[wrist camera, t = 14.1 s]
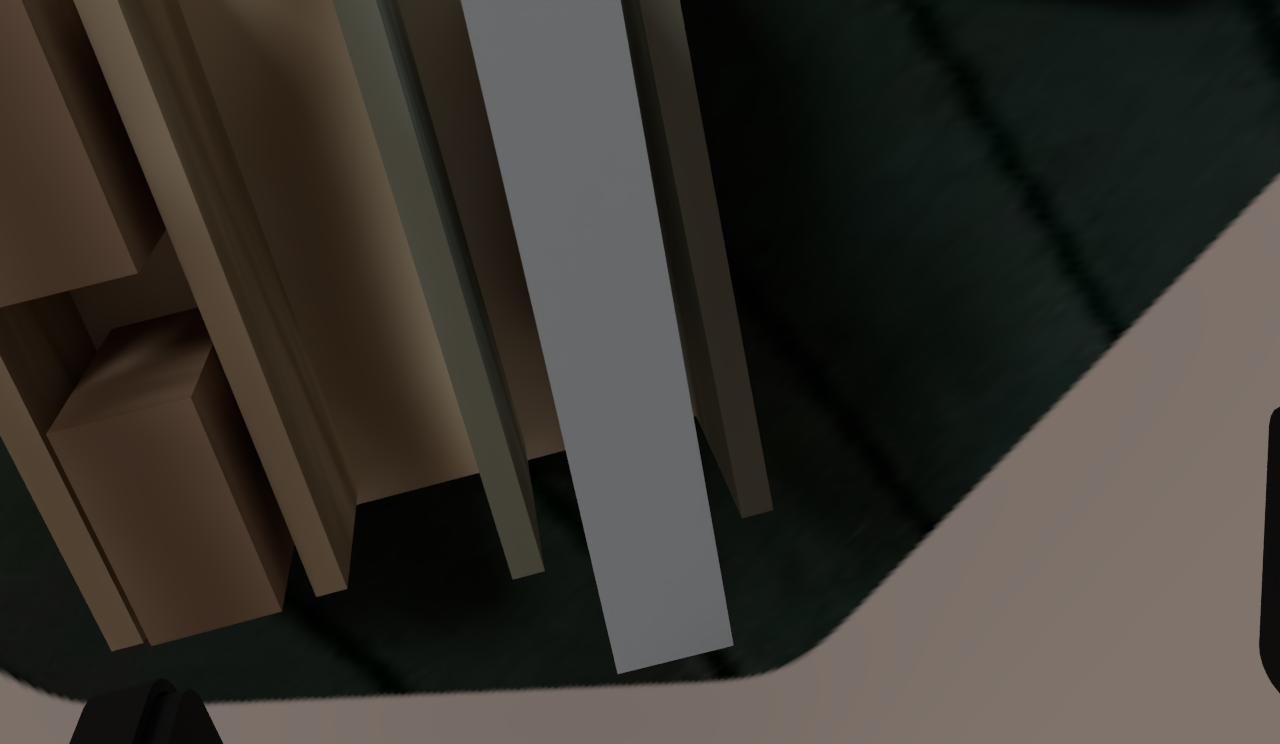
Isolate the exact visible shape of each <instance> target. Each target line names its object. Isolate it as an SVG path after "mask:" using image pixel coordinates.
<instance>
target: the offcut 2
mask: <svg viewBox="0 0 1280 744" xmlns="http://www.w3.org/2000/svg"><path fill="white" fill-rule="evenodd" d="M46 435H47V437H48V439H49V441H50V443H51V445H52V447H53V449H54V451H55V453H56V455H57V457H58V459H59V461H60V463H61V465H62V467H63V469H64V471H65V473H66V475H67V477H68V479H69V481H70V483H71V485H72V487H73V489H74V491H75V493H76V495H77V497H78V499H79V501H80V503H81V505H82V507H83V509H84V511H85V513H86V515H87V518H88V520H89V522H90V524H91V526H92V528H93V530H94V532H95V534H96V536H97V538H98V540H99V542H100V544H101V546H102V548H103V550H104V552H105V554H106V556H107V558H108V560H109V562H110V564H111V566H112V568H113V570H114V572H115V574H116V576H117V578H118V580H119V582H120V584H121V586H122V588H123V590H124V592H125V594H126V596H127V598H128V600H129V602H130V604H131V606H132V608H133V610H134V612H135V614H136V616H137V618H138V620H139V622H140V624H141V626H142V628H143V630H144V632H145V634H146V636H147V638H148V640H149V642H150V644H151V646H153V645H157V644H161V643H165V642H168V641H172V640H176V639H180V638H183V637H187V636H191V635H195V634H198V633H202V632H206V631H210V630H213V629H217V628H221V627H225V626H228V625H232V624H236V623H240V622H244V621H247V620H251V619H255V618H259V617H262V616H266V615H270V614H274V613H277V612H281V611H282V608H283V602H284V597H285V592H286V586H287V581H288V575H289V570H290V565H291V559H292V554H293V548H294V541H293V539H292V536H291V534H290V531H289V529H288V526H287V524H286V521H285V519H284V517H283V514H282V512H281V509H280V507H279V504H278V502H277V499H276V497H275V494H274V492H273V490H272V487H271V485H270V482H269V480H268V477H267V475H266V472H265V470H264V467H263V465H262V462H261V460H260V458H259V455H258V453H257V450H256V448H255V445H254V443H253V440H252V438H251V435H250V433H249V431H248V428H247V426H246V423H245V421H244V418H243V416H242V413H241V411H240V408H239V406H238V404H237V401H236V399H235V396H234V394H233V391H232V389H231V386H230V384H229V381H228V379H227V376H226V374H225V372H224V369H223V367H222V364H221V362H220V359H219V357H218V354H217V352H216V349H215V347H214V345H213V342H212V340H211V337H210V335H209V332H208V330H207V327H206V325H205V322H204V320H203V317H202V315H201V313H200V310H199V308H198V307H197V308H193V309H189V310H185V311H181V312H177V313H173V314H169V315H165V316H161V317H157V318H153V319H149V320H145V321H141V322H137V323H133V324H129V325H125V326H121V327H117V328H113V329H111V331H110V333H109V334H108V336H107V337H106V339H105V341H104V342H103V344H102V345H101V347H100V349H99V350H98V352H97V353H96V355H95V357H94V358H93V360H92V362H91V363H90V365H89V366H88V368H87V370H86V371H85V373H84V374H83V376H82V378H81V379H80V381H79V382H78V384H77V386H76V387H75V389H74V390H73V392H72V394H71V395H70V397H69V398H68V400H67V402H66V403H65V405H64V406H63V408H62V410H61V411H60V413H59V414H58V416H57V418H56V419H55V421H54V423H53V424H52V426H51V427H50V429H49V431H48V432H47V434H46Z"/></svg>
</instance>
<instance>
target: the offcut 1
mask: <svg viewBox="0 0 1280 744" xmlns="http://www.w3.org/2000/svg"><path fill="white" fill-rule="evenodd" d="M165 230H166V227H165V224H164V222H163V219H162V217H161V214H160V212H159V209H158V207H157V204H156V202H155V200H154V197H153V195H152V192H151V190H150V187H149V185H148V182H147V180H146V177H145V175H144V173H143V170H142V168H141V165H140V163H139V160H138V158H137V155H136V153H135V150H134V148H133V145H132V143H131V141H130V138H129V136H128V133H127V131H126V128H125V126H124V123H123V121H122V118H121V116H120V114H119V111H118V109H117V106H116V104H115V101H114V99H113V96H112V94H111V91H110V89H109V87H108V84H107V82H106V79H105V77H104V74H103V72H102V69H101V67H100V64H99V62H98V59H97V57H96V55H95V52H94V50H93V47H92V45H91V42H90V40H89V37H88V35H87V32H86V30H85V28H84V25H83V23H82V20H81V18H80V15H79V13H78V10H77V8H76V5H75V3H74V1H73V0H0V307H4V306H8V305H12V304H16V303H20V302H24V301H28V300H33V299H37V298H41V297H45V296H49V295H53V294H57V293H61V292H65V291H69V290H73V289H77V288H81V287H85V286H89V285H93V284H97V283H101V282H105V281H109V280H113V279H117V278H121V277H125V276H129V275H133V274H137V273H138V272H139V271H140V269H141V268H142V266H143V265H144V263H145V261H146V260H147V258H148V257H149V255H150V254H151V252H152V251H153V249H154V247H155V246H156V244H157V243H158V241H159V240H160V238H161V237H162V235H163V233H164V232H165Z"/></svg>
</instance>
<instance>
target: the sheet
mask: <svg viewBox="0 0 1280 744" xmlns="http://www.w3.org/2000/svg"><path fill="white" fill-rule="evenodd" d="M461 3H462V7H463V12H464V16H465V20H466V25H467V29H468V33H469V37H470V42H471V46H472V50H473V55H474V59H475V63H476V67H477V72H478V76H479V80H480V85H481V89H482V93H483V98H484V102H485V106H486V110H487V115H488V119H489V123H490V128H491V132H492V136H493V140H494V145H495V149H496V153H497V158H498V162H499V166H500V171H501V175H502V179H503V183H504V188H505V192H506V196H507V201H508V205H509V209H510V213H511V218H512V222H513V226H514V231H515V235H516V239H517V243H518V248H519V252H520V256H521V261H522V265H523V269H524V274H525V278H526V282H527V286H528V291H529V295H530V299H531V304H532V308H533V312H534V316H535V321H536V325H537V329H538V334H539V338H540V342H541V347H542V351H543V355H544V359H545V364H546V368H547V372H548V377H549V381H550V385H551V389H552V394H553V398H554V402H555V407H556V411H557V415H558V419H559V424H560V428H561V432H562V437H563V441H564V445H565V450H566V454H567V458H568V462H569V467H570V471H571V475H572V480H573V484H574V488H575V492H576V497H577V501H578V505H579V510H580V514H581V518H582V523H583V527H584V531H585V535H586V540H587V544H588V548H589V553H590V557H591V561H592V565H593V570H594V574H595V578H596V583H597V587H598V591H599V595H600V600H601V604H602V608H603V613H604V617H605V621H606V626H607V630H608V634H609V638H610V643H611V647H612V651H613V656H614V660H615V664H616V668H617V673H618V674H620V673H624V672H628V671H632V670H636V669H640V668H644V667H648V666H652V665H656V664H660V663H664V662H668V661H672V660H676V659H680V658H684V657H688V656H692V655H697V654H701V653H705V652H709V651H713V650H717V649H721V648H725V647H729V646H733V640H732V635H731V629H730V623H729V618H728V612H727V606H726V600H725V595H724V589H723V583H722V578H721V572H720V566H719V560H718V555H717V549H716V543H715V537H714V532H713V526H712V520H711V515H710V509H709V503H708V497H707V492H706V486H705V480H704V475H703V469H702V463H701V457H700V452H699V446H698V440H697V434H696V429H695V423H694V417H693V412H692V406H691V400H690V394H689V389H688V383H687V377H686V371H685V366H684V360H683V354H682V349H681V343H680V337H679V331H678V326H677V320H676V314H675V309H674V303H673V297H672V291H671V286H670V280H669V274H668V268H667V263H666V257H665V251H664V246H663V240H662V234H661V228H660V223H659V217H658V211H657V206H656V200H655V194H654V188H653V183H652V177H651V171H650V165H649V160H648V154H647V148H646V143H645V137H644V131H643V125H642V120H641V114H640V108H639V103H638V97H637V91H636V85H635V80H634V74H633V68H632V62H631V57H630V51H629V45H628V40H627V34H626V28H625V22H624V17H623V11H622V5H621V0H461Z"/></svg>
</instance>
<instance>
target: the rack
mask: <svg viewBox="0 0 1280 744" xmlns="http://www.w3.org/2000/svg"><path fill="white" fill-rule="evenodd" d="M73 1H74V3H75V5H76V8H77V10H78V13H79V15H80V18H81V20H82V23H83V25H84V28H85V30H86V32H87V35H88V37H89V40H90V42H91V45H92V47H93V50H94V52H95V55H96V57H97V59H98V62H99V64H100V67H101V69H102V72H103V74H104V77H105V79H106V82H107V84H108V87H109V89H110V91H111V94H112V96H113V99H114V101H115V104H116V106H117V109H118V111H119V114H120V116H121V118H122V121H123V123H124V126H125V128H126V131H127V133H128V136H129V138H130V141H131V143H132V145H133V148H134V150H135V153H136V155H137V158H138V160H139V163H140V165H141V168H142V170H143V173H144V175H145V177H146V180H147V182H148V185H149V187H150V190H151V192H152V195H153V197H154V200H155V202H156V204H157V207H158V209H159V212H160V214H161V217H162V219H163V222H164V224H165V227H166V230H165V232H164V233H163V235H162V237H161V238H160V240H159V241H158V243H157V244H156V246H155V247H154V249H153V251H152V252H151V254H150V255H149V257H148V258H147V260H146V261H145V263H144V265H143V266H142V268H141V269H140V271H139V272H138V273H137V274H133V275H129V276H125V277H121V278H117V279H113V280H109V281H105V282H101V283H97V284H93V285H89V286H85V287H81V288H77V289H73V290H69V291H65V292H61V293H57V294H53V295H49V296H45V297H41V298H37V299H33V300H28V301H24V302H20V303H16V304H12V305H8V306H4V307H0V436H1V438H2V440H3V442H4V443H5V445H6V447H7V449H8V451H9V453H10V455H11V457H12V459H13V461H14V463H15V465H16V467H17V469H18V471H19V472H20V474H21V476H22V478H23V480H24V482H25V484H26V486H27V488H28V490H29V492H30V494H31V496H32V498H33V500H34V502H35V503H36V505H37V507H38V509H39V511H40V513H41V515H42V517H43V519H44V521H45V523H46V525H47V527H48V529H49V531H50V532H51V534H52V536H53V538H54V540H55V542H56V544H57V546H58V548H59V550H60V552H61V554H62V556H63V558H64V560H65V562H66V563H67V565H68V567H69V569H70V571H71V573H72V575H73V577H74V579H75V581H76V583H77V585H78V587H79V589H80V591H81V592H82V594H83V596H84V598H85V600H86V602H87V604H88V606H89V608H90V610H91V612H92V614H93V616H94V618H95V620H96V622H97V623H98V625H99V627H100V629H101V631H102V633H103V635H104V637H105V639H106V641H107V643H108V645H109V647H110V649H111V651H115V650H119V649H122V648H126V647H130V646H134V645H137V644H141V643H144V640H145V637H146V634H145V632H144V630H143V628H142V626H141V624H140V622H139V620H138V618H137V616H136V614H135V612H134V610H133V608H132V606H131V604H130V602H129V600H128V598H127V596H126V594H125V592H124V590H123V588H122V586H121V584H120V582H119V580H118V578H117V576H116V574H115V572H114V570H113V568H112V566H111V564H110V562H109V560H108V558H107V556H106V554H105V552H104V550H103V548H102V546H101V544H100V542H99V540H98V538H97V536H96V534H95V532H94V530H93V528H92V526H91V524H90V522H89V520H88V518H87V515H86V513H85V511H84V509H83V507H82V505H81V503H80V501H79V499H78V497H77V495H76V493H75V491H74V489H73V487H72V485H71V483H70V481H69V479H68V477H67V475H66V473H65V471H64V469H63V467H62V465H61V463H60V461H59V459H58V457H57V455H56V453H55V451H54V449H53V447H52V445H51V443H50V441H49V439H48V437H47V435H46V434H47V432H48V431H49V429H50V427H51V426H52V424H53V423H54V421H55V419H56V418H57V416H58V414H59V413H60V411H61V410H62V408H63V406H64V405H65V403H66V402H67V400H68V398H69V397H70V395H71V394H72V392H73V390H74V389H75V387H76V386H77V384H78V382H79V381H80V379H81V378H82V376H83V374H84V373H85V371H86V370H87V368H88V366H89V365H90V363H91V362H92V360H93V358H94V357H95V355H96V353H97V352H98V350H99V349H100V347H101V345H102V344H103V342H104V341H105V339H106V337H107V336H108V334H109V333H110V331H111V329H113V328H117V327H121V326H125V325H129V324H133V323H137V322H141V321H145V320H149V319H153V318H157V317H161V316H165V315H169V314H173V313H177V312H181V311H185V310H189V309H193V308H197V307H198V308H199V310H200V313H201V315H202V317H203V320H204V322H205V325H206V327H207V330H208V332H209V335H210V337H211V340H212V342H213V345H214V347H215V349H216V352H217V354H218V357H219V359H220V362H221V364H222V367H223V369H224V372H225V374H226V376H227V379H228V381H229V384H230V386H231V389H232V391H233V394H234V396H235V399H236V401H237V404H238V406H239V408H240V411H241V413H242V416H243V418H244V421H245V423H246V426H247V428H248V431H249V433H250V435H251V438H252V440H253V443H254V445H255V448H256V450H257V453H258V455H259V458H260V460H261V462H262V465H263V467H264V470H265V472H266V475H267V477H268V480H269V482H270V485H271V487H272V490H273V492H274V494H275V497H276V499H277V502H278V504H279V507H280V509H281V512H282V514H283V517H284V519H285V521H286V524H287V526H288V529H289V531H290V534H291V536H292V539H293V541H294V544H295V546H296V548H297V551H298V553H299V556H300V558H301V561H302V563H303V566H304V568H305V571H306V573H307V576H308V578H309V580H310V583H311V585H312V588H313V590H314V593H315V595H316V597H318V596H322V595H326V594H329V593H333V592H337V591H341V590H344V589H347V587H348V578H349V568H350V559H351V549H352V540H353V531H354V521H355V512H356V505H358V504H361V503H365V502H369V501H373V500H377V499H381V498H384V497H388V496H392V495H396V494H400V493H403V492H407V491H411V490H415V489H419V488H423V487H426V486H430V485H434V484H438V483H442V482H446V481H449V480H453V479H457V478H461V477H465V476H468V475H472V474H476V473H480V476H481V479H482V482H483V486H484V489H485V492H486V495H487V498H488V502H489V505H490V508H491V511H492V514H493V518H494V521H495V524H496V527H497V531H498V534H499V537H500V540H501V543H502V547H503V550H504V553H505V556H506V559H507V563H508V566H509V569H510V572H511V575H512V579H517V578H520V577H524V576H528V575H532V574H535V573H539V572H543V571H545V570H544V563H543V557H542V550H541V544H540V537H539V531H538V524H537V518H536V511H535V505H534V498H533V492H532V485H531V479H530V472H529V466H528V460H530V459H533V458H537V457H541V456H545V455H549V454H553V453H556V452H560V451H564V450H565V445H564V441H563V437H562V432H561V428H560V424H559V419H558V415H557V411H556V407H555V402H554V398H553V394H552V389H551V385H550V381H549V377H548V372H547V368H546V364H545V359H544V355H543V351H542V347H541V342H540V338H539V334H538V329H537V325H536V321H535V316H534V312H533V308H532V304H531V299H530V295H529V291H528V286H527V282H526V278H525V274H524V269H523V265H522V261H521V256H520V252H519V248H518V243H517V239H516V235H515V231H514V226H513V222H512V218H511V213H510V209H509V205H508V201H507V196H506V192H505V188H504V183H503V179H502V175H501V171H500V166H499V162H498V158H497V153H496V149H495V145H494V140H493V136H492V132H491V128H490V123H489V119H488V115H487V110H486V106H485V102H484V98H483V93H482V89H481V85H480V80H479V76H478V72H477V67H476V63H475V59H474V55H473V50H472V46H471V42H470V37H469V33H468V29H467V25H466V20H465V16H464V12H463V7H462V3H461V0H73ZM621 5H622V11H623V17H624V22H625V28H626V34H627V40H628V45H629V51H630V57H631V62H632V68H633V74H634V80H635V85H636V91H637V97H638V103H639V108H640V114H641V120H642V125H643V131H644V137H645V143H646V148H647V154H648V160H649V165H650V171H651V177H652V183H653V188H654V194H655V200H656V206H657V211H658V217H659V223H660V228H661V234H662V240H663V246H664V251H665V257H666V263H667V268H668V274H669V280H670V286H671V291H672V297H673V303H674V309H675V314H676V320H677V326H678V331H679V337H680V343H681V349H682V354H683V360H684V366H685V371H686V377H687V383H688V389H689V394H690V400H691V406H692V412H693V417H694V416H696V417H697V419H698V421H699V423H700V426H701V428H702V430H703V432H704V434H705V437H706V439H707V441H708V443H709V446H710V448H711V450H712V452H713V455H714V457H715V459H716V461H717V463H718V466H719V468H720V470H721V472H722V475H723V477H724V479H725V481H726V484H727V486H728V488H729V490H730V492H731V495H732V497H733V499H734V501H735V504H736V506H737V508H738V510H739V513H740V515H741V517H742V518H745V517H749V516H752V515H756V514H760V513H764V512H767V511H771V510H773V505H772V500H771V495H770V489H769V484H768V478H767V473H766V467H765V462H764V456H763V451H762V446H761V440H760V435H759V429H758V424H757V418H756V413H755V407H754V402H753V397H752V391H751V386H750V380H749V375H748V369H747V364H746V358H745V353H744V348H743V342H742V337H741V331H740V326H739V320H738V315H737V309H736V304H735V298H734V293H733V288H732V282H731V277H730V271H729V266H728V260H727V255H726V249H725V244H724V239H723V233H722V228H721V222H720V217H719V211H718V206H717V200H716V195H715V190H714V184H713V179H712V173H711V168H710V162H709V157H708V151H707V146H706V141H705V135H704V130H703V124H702V119H701V113H700V108H699V102H698V97H697V92H696V86H695V81H694V75H693V70H692V64H691V59H690V53H689V48H688V42H687V37H686V32H685V26H684V21H683V15H682V10H681V4H680V0H621Z"/></svg>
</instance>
